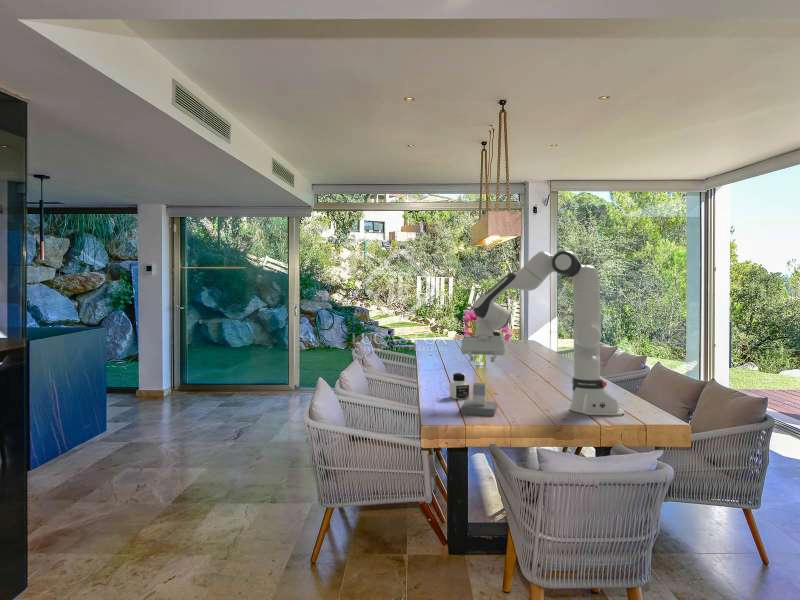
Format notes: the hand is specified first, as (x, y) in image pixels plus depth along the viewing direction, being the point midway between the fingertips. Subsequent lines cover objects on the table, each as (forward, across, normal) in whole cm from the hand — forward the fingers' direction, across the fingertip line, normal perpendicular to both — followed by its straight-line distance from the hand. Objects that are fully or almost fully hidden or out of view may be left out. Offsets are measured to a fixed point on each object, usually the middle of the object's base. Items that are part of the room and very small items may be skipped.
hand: (481, 360), depth 243 cm
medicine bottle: (+4, -12, +26) cm, 29 cm away
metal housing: (+20, 0, +5) cm, 20 cm away
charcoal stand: (+22, 0, +7) cm, 23 cm away
